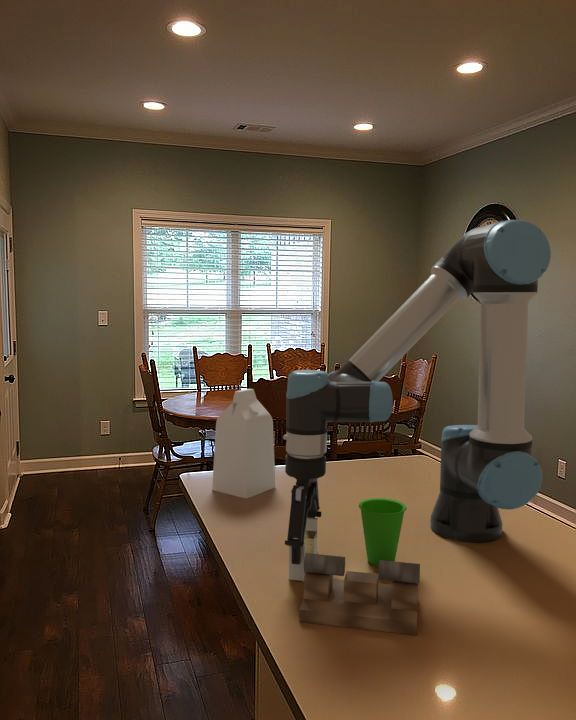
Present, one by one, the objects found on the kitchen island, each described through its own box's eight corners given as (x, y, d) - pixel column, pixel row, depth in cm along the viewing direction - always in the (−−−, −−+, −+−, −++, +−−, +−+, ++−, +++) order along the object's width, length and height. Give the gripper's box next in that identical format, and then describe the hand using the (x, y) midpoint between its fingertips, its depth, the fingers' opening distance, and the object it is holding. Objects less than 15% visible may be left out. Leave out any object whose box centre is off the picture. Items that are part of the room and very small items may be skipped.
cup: (393, 575, 117) (395, 516, 116) (349, 563, 122) (350, 507, 121) (412, 558, 125) (413, 503, 124) (369, 548, 130) (370, 495, 129)
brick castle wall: (418, 598, 108) (420, 550, 108) (417, 635, 97) (419, 581, 96) (311, 587, 112) (311, 540, 111) (297, 621, 100) (298, 569, 100)
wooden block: (316, 561, 123) (317, 531, 122) (313, 570, 119) (313, 539, 119) (296, 559, 124) (296, 529, 123) (292, 568, 120) (292, 537, 119)
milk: (241, 479, 176) (242, 385, 174) (275, 487, 170) (276, 389, 167) (212, 490, 167) (211, 390, 164) (246, 498, 160) (246, 395, 157)
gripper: (298, 437, 132) (296, 537, 134) (270, 470, 108) (268, 591, 110) (335, 440, 131) (332, 541, 133) (314, 473, 106) (311, 596, 109)
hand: (303, 564), depth 121 cm, fingers open, 13 cm apart
